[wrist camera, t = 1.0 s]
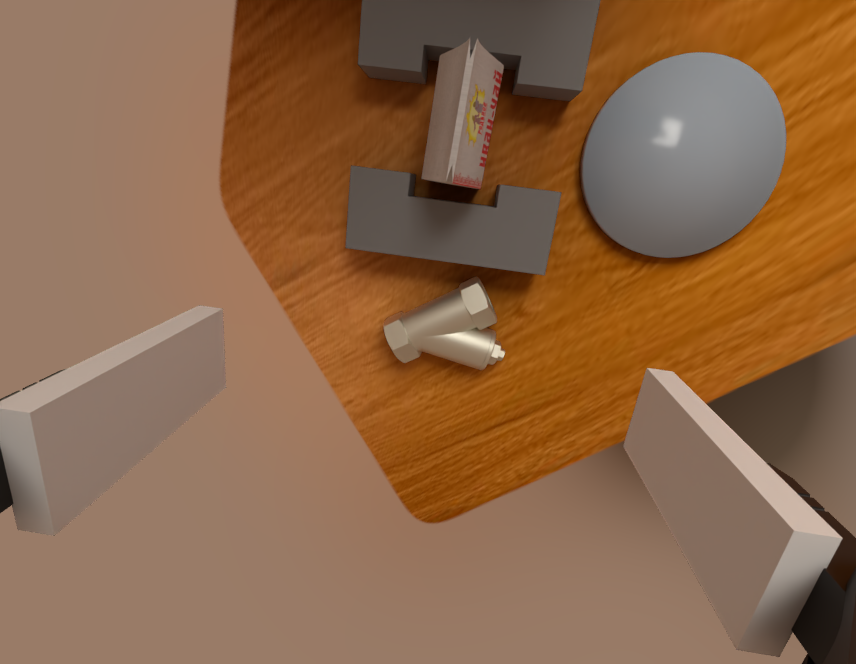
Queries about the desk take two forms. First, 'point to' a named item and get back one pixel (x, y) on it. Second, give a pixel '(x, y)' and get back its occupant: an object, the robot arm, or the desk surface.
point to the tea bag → (462, 116)
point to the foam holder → (535, 77)
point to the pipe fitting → (448, 328)
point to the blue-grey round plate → (683, 155)
